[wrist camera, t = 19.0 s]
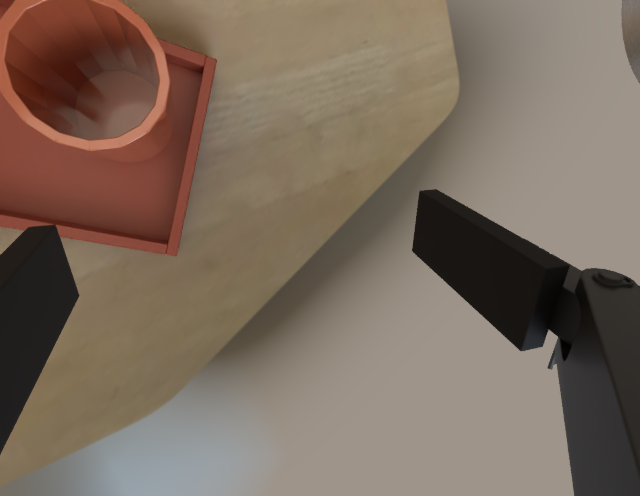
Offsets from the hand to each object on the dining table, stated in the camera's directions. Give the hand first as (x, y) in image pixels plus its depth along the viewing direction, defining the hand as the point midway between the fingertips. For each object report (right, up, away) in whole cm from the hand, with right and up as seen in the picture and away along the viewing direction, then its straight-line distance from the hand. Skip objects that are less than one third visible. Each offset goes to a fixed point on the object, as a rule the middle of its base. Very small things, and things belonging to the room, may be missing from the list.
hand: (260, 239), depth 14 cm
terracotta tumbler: (-12, +10, +14) cm, 21 cm away
